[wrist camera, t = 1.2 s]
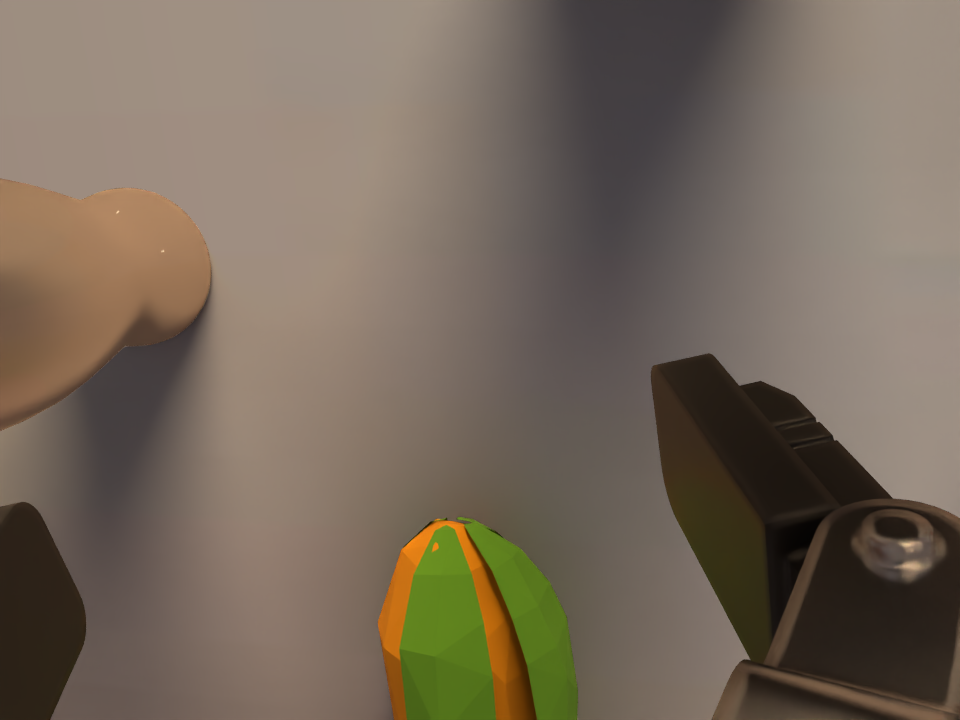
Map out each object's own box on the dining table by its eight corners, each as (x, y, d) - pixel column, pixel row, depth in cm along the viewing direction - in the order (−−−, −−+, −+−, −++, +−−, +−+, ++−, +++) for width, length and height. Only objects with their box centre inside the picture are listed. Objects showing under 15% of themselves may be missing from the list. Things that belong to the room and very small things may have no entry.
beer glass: (186, 383, 35) (-61, 531, 20) (24, 309, 35) (-346, 403, 20) (250, 223, 33) (35, 257, 19) (82, 144, 33) (-270, 116, 18)
